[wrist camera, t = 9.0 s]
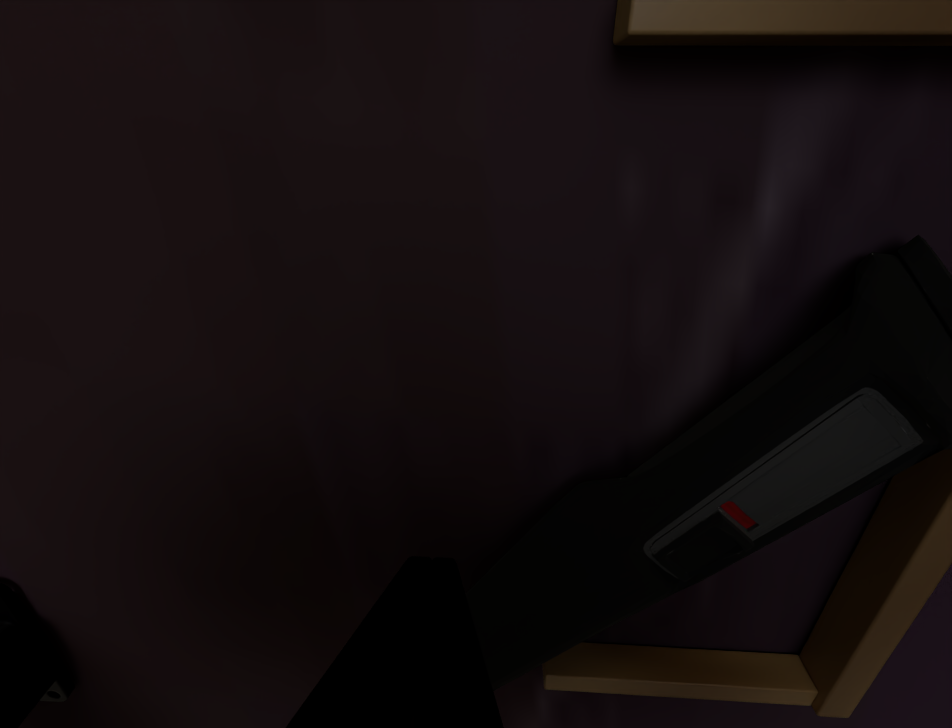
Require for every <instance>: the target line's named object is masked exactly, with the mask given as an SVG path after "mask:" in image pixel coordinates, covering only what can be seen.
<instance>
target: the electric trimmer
mask: <svg viewBox="0 0 952 728" xmlns="http://www.w3.org/2000/svg"><path fill="white" fill-rule="evenodd" d="M898 253H899V255H900V258H901V259H899V258H898V257H897V256H895V255H890V254H881V253H873V252H872V253H871V254H869V255H868V256H867V257H866V258H865V259H863V260H862V261H861V262H860V263H859V264H858V265H857V267H856V269H855V286H854V293H853V300H852V305H851V306H850V307H848V308H847V309H846V310H845V311H844V312H843V313H842V314H841V315H839V316H838V317H837V318H835V319H834V320H833V321H832V322H830V323H829V324H828V325H826V326H825V327H824V328H822V329H821V330H820V331H818V332H817V333H816V334H814V335H813V336H812V337H810V338H809V339H808V340H806V341H805V342H804V343H802V344H801V345H800V346H798V347H797V348H796V349H794V350H793V351H792V352H790V353H789V354H788V355H786V356H785V357H784V358H782V359H781V360H780V361H779V362H777V363H776V364H775V365H773V366H772V367H771V368H769V369H768V370H767V371H765V372H764V373H763V374H761V375H760V376H759V377H757V378H756V379H755V380H753V381H752V382H751V383H749V384H748V385H747V386H745V387H744V388H743V389H741V390H740V391H739V392H737V393H736V394H735V395H733V396H732V397H731V398H730V399H728V400H727V401H726V402H724V403H723V404H722V405H720V406H719V407H718V408H716V409H715V410H714V411H712V412H711V413H710V414H708V415H707V416H706V417H704V418H703V419H702V420H700V421H699V422H698V423H696V424H695V425H694V426H692V427H691V428H690V429H688V430H687V431H686V432H684V433H683V434H682V435H681V436H679V437H678V438H677V439H675V440H674V441H673V442H671V443H670V444H669V445H667V446H666V447H665V448H663V449H662V450H661V451H659V452H658V453H657V454H655V455H654V456H653V457H651V458H650V459H649V460H647V461H646V462H645V463H643V464H642V465H641V466H639V467H638V468H637V469H635V470H634V471H633V472H632V473H630V474H629V475H628V476H627V477H621V478H610V479H601V480H592V481H584V482H582V483H580V484H578V485H577V486H576V487H575V488H573V489H572V490H571V491H570V492H569V493H568V494H567V495H566V496H564V497H563V498H562V499H561V500H560V501H559V502H558V503H557V504H555V505H554V506H553V507H552V508H551V509H550V510H549V511H548V512H547V513H546V514H545V515H544V516H543V517H542V518H541V519H540V520H539V521H538V522H537V523H536V524H535V525H534V526H533V527H532V528H531V529H530V530H529V531H528V532H527V533H526V534H525V535H524V536H523V537H522V538H521V539H520V540H519V541H518V542H517V543H516V544H515V545H514V546H513V547H512V548H511V549H510V550H509V551H508V552H507V553H506V554H505V555H504V556H503V557H502V558H501V559H500V560H499V561H498V562H497V563H496V564H495V565H494V566H493V567H492V568H491V569H490V570H489V571H488V572H487V573H486V574H485V575H484V576H483V577H482V578H481V579H480V580H479V581H478V582H477V583H476V584H475V585H474V586H473V587H472V588H471V589H470V590H469V591H468V592H467V593H466V598H467V601H468V605H469V608H470V612H471V615H472V619H473V622H474V626H475V629H476V633H477V636H478V640H479V643H480V647H481V650H482V654H483V657H484V661H485V664H486V668H487V671H488V675H489V678H490V682H491V685H492V689H493V691H494V690H496V689H498V688H500V687H501V686H503V685H505V684H507V683H509V682H511V681H512V680H514V679H516V678H518V677H520V676H521V675H523V674H525V673H527V672H529V671H530V670H532V669H534V668H536V667H538V666H540V665H541V664H543V663H545V662H547V661H549V660H550V659H552V658H554V657H556V656H558V655H559V654H561V653H563V652H565V651H567V650H569V649H570V648H572V647H574V646H576V645H578V644H579V643H581V642H583V641H585V640H587V639H589V638H590V637H592V636H594V635H596V634H598V633H599V632H601V631H603V630H605V629H607V628H608V627H610V626H612V625H614V624H616V623H618V622H620V621H622V620H624V619H626V618H628V617H629V616H631V615H633V614H635V613H637V612H639V611H641V610H643V609H645V608H647V607H649V606H651V605H653V604H655V603H657V602H659V601H660V600H662V599H664V598H666V597H668V596H670V595H672V594H674V593H676V592H678V591H680V590H682V589H685V588H687V587H689V586H691V585H694V584H696V583H698V582H700V581H702V580H704V579H705V578H707V577H709V576H711V575H713V574H715V573H717V572H718V571H720V570H722V569H724V568H726V567H728V566H729V565H731V564H733V563H735V562H737V561H739V560H740V559H742V558H744V557H746V556H748V555H750V554H751V553H753V552H755V551H757V550H759V549H761V548H762V547H764V546H766V545H768V544H770V543H772V542H773V541H775V540H777V539H779V538H781V537H783V536H784V535H786V534H788V533H790V532H792V531H794V530H795V529H797V528H799V527H801V526H803V525H805V524H806V523H808V522H810V521H812V520H814V519H816V518H817V517H819V516H821V515H823V514H825V513H827V512H828V511H830V510H832V509H834V508H836V507H838V506H840V505H841V504H843V503H845V502H847V501H849V500H851V499H852V498H854V497H856V496H858V495H860V494H862V493H863V492H865V491H867V490H869V489H871V488H873V487H874V486H876V485H878V484H880V483H882V482H884V481H885V480H887V479H889V478H891V477H893V476H895V475H896V474H898V473H900V472H902V471H904V470H906V469H907V468H909V467H911V466H913V465H915V464H917V463H919V462H921V461H923V460H925V459H926V458H928V457H930V456H932V455H934V454H936V453H938V452H940V451H942V450H946V449H952V276H951V274H950V273H949V271H948V270H947V269H946V267H945V266H944V264H943V263H942V262H941V260H940V259H939V258H938V256H937V255H936V254H935V252H934V251H933V250H932V248H931V247H930V246H929V245H928V243H927V242H926V241H925V240H924V239H923V238H921V237H920V236H919V235H918V236H916V237H915V238H913V239H912V240H911V241H909V242H908V243H907V244H905V245H904V246H903V247H901V248H900V249H899V250H898Z"/></svg>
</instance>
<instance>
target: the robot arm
mask: <svg viewBox="0 0 952 728" xmlns="http://www.w3.org/2000/svg"><path fill="white" fill-rule="evenodd" d="M74 689H75V685H74V683H73V682H72V680H71V679H70V677H69V676H68V674H67V673H66V671H65V670H64V668H63V667H62V665H61V663H60V662H59V660H58V659H57V657H56V656H55V654H54V653H53V651H52V650H51V648H50V647H49V645H48V644H47V642H46V641H45V639H44V637H43V636H42V634H41V633H40V631H39V630H38V628H37V627H36V625H35V624H34V622H33V621H32V619H31V618H30V616H29V615H28V613H27V611H26V610H25V608H24V607H23V605H22V604H21V602H20V601H19V599H18V598H17V596H16V595H15V593H14V592H13V591H12V590H11V588H9V587H8V586H6V585H5V584H2V583H0V728H18V727H19V726H20V724H21V723H22V722H23V721H24V719H25V718H26V717H27V716H28V714H29V713H30V712H31V711H32V709H33V708H34V707H35V706H36V704H37V703H38V702H39V701H54V702H63V701H66V700H67V698H68V697H69V696H70V694H71V693H72V692H73V690H74ZM286 728H504V727H503V724H502V720H501V717H500V713H499V710H498V706H497V703H496V699H495V696H494V692H493V689H492V685H491V682H490V678H489V675H488V671H487V668H486V664H485V661H484V657H483V654H482V650H481V647H480V643H479V640H478V636H477V633H476V629H475V626H474V622H473V619H472V615H471V612H470V608H469V605H468V601H467V598H466V594H465V591H464V587H463V584H462V580H461V577H460V573H459V570H458V566H457V563H456V561H455V559H453V558H442V557H436V558H434V559H433V560H432V559H431V558H430V557H421V556H411V557H409V558H408V559H407V560H406V561H405V563H404V564H403V565H402V567H401V568H400V570H399V571H398V572H397V574H396V575H395V576H394V578H393V579H392V581H391V582H390V583H389V585H388V586H387V588H386V589H385V590H384V592H383V593H382V595H381V596H380V597H379V599H378V600H377V602H376V603H375V604H374V606H373V607H372V608H371V610H370V611H369V613H368V614H367V615H366V617H365V618H364V620H363V621H362V622H361V624H360V625H359V627H358V628H357V629H356V631H355V632H354V634H353V635H352V636H351V638H350V639H349V640H348V642H347V643H346V645H345V646H344V647H343V649H342V650H341V652H340V653H339V654H338V656H337V657H336V659H335V660H334V661H333V663H332V664H331V665H330V667H329V668H328V670H327V671H326V672H325V674H324V675H323V677H322V678H321V679H320V681H319V682H318V684H317V685H316V686H315V688H314V689H313V691H312V692H311V693H310V695H309V696H308V697H307V699H306V700H305V702H304V703H303V704H302V706H301V707H300V709H299V710H298V711H297V713H296V714H295V716H294V717H293V718H292V720H291V721H290V723H289V724H288V725H287V727H286Z"/></svg>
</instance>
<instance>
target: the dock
mask: <svg viewBox="0 0 952 728" xmlns="http://www.w3.org/2000/svg"><path fill="white" fill-rule="evenodd" d="M613 43H614V44H615V45H701V46H952V0H618V3H617V11H616V20H615V28H614V37H613ZM951 564H952V449H946V450H942V451H940V452H938V453H936V454H934V455H932V456H930V457H928V458H926V459H925V460H923V461H921V462H919V463H917V464H915V465H913V466H911V467H909V468H907V469H906V470H904V471H902V472H900V473H898V474H896V475H895V476H893V477H892V479H891V481H890V483H889V485H888V487H887V489H886V490H885V492H884V494H883V496H882V498H881V500H880V502H879V504H878V506H877V508H876V510H875V511H874V513H873V515H872V517H871V519H870V521H869V523H868V525H867V527H866V529H865V531H864V532H863V534H862V536H861V538H860V540H859V542H858V544H857V546H856V548H855V550H854V552H853V553H852V555H851V557H850V559H849V561H848V563H847V565H846V567H845V569H844V571H843V573H842V574H841V576H840V578H839V580H838V582H837V584H836V586H835V588H834V590H833V592H832V594H831V595H830V597H829V599H828V601H827V603H826V605H825V607H824V609H823V611H822V613H821V615H820V616H819V618H818V620H817V622H816V624H815V626H814V628H813V630H812V632H811V634H810V635H809V637H808V639H807V641H806V643H805V645H804V647H803V649H802V651H801V653H800V655H799V656H798V655H793V654H776V653H759V652H741V651H724V650H706V649H689V648H671V647H654V646H636V645H619V644H602V643H584V642H581V643H579V644H578V645H576V646H574V647H572V648H570V649H569V650H567V651H565V652H563V653H561V654H559V655H558V656H556V657H554V658H552V659H550V660H549V661H547V662H545V663H543V664H542V666H543V680H544V688H545V689H547V690H563V691H579V692H596V693H612V694H628V695H644V696H660V697H676V698H692V699H708V700H725V701H741V702H757V703H773V704H789V705H805V706H810V705H812V707H813V709H814V711H815V713H816V714H817V716H825V717H841V718H848V717H849V716H850V715H851V713H852V712H853V710H854V709H855V707H856V706H857V704H858V703H859V701H860V700H861V698H862V697H863V695H864V694H865V692H866V691H867V689H868V688H869V686H870V685H871V683H872V682H873V680H874V679H875V677H876V676H877V674H878V673H879V671H880V670H881V668H882V667H883V665H884V664H885V662H886V661H887V659H888V658H889V656H890V655H891V654H892V652H893V651H894V649H895V648H896V646H897V645H898V643H899V642H900V640H901V639H902V637H903V636H904V634H905V633H906V631H907V630H908V628H909V627H910V625H911V624H912V622H913V621H914V619H915V618H916V616H917V615H918V613H919V612H920V610H921V609H922V607H923V606H924V604H925V603H926V601H927V600H928V598H929V597H930V595H931V594H932V592H933V591H934V589H935V588H936V586H937V585H938V583H939V582H940V580H941V579H942V577H943V576H944V574H945V573H946V571H947V570H948V568H949V567H950V565H951Z"/></svg>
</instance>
